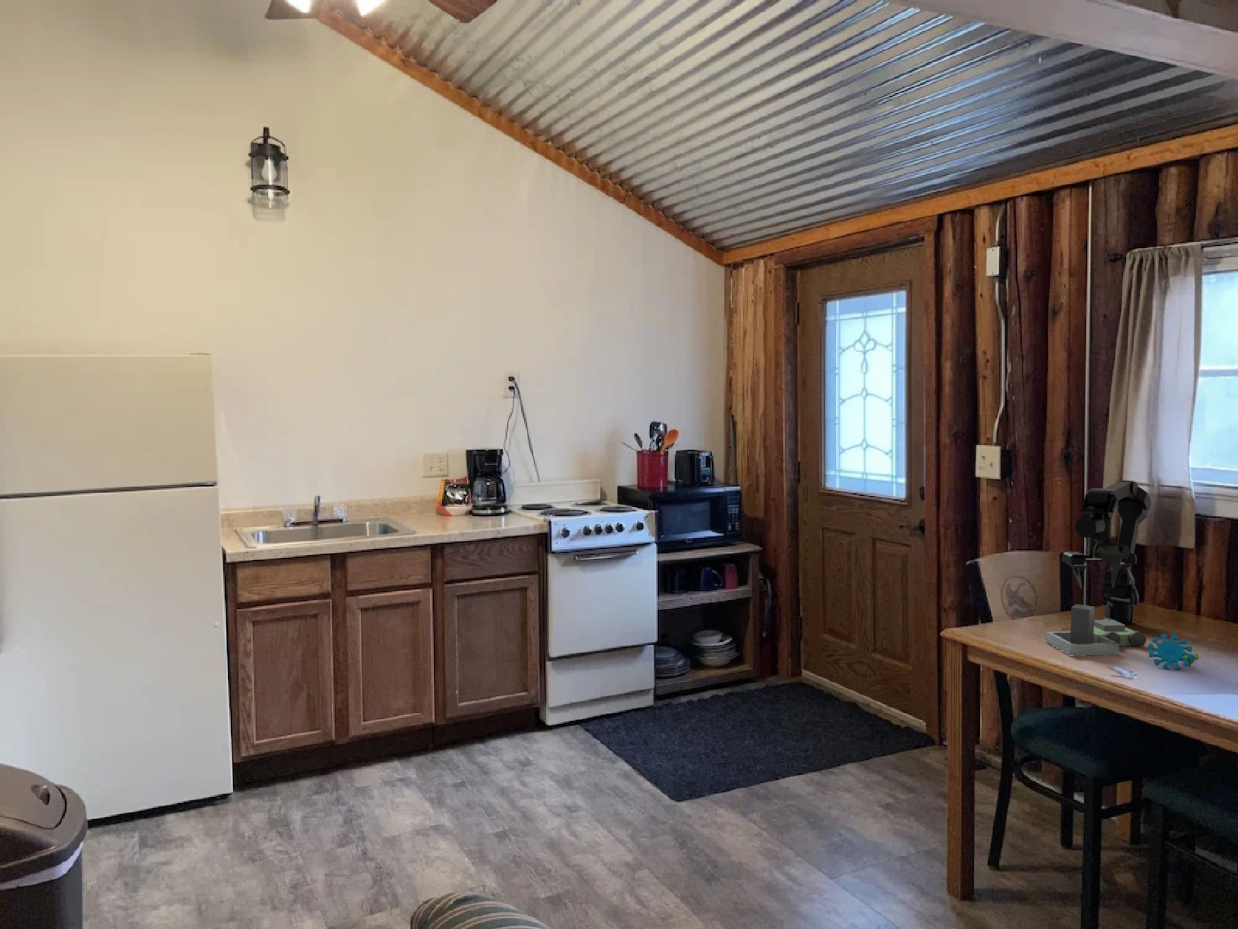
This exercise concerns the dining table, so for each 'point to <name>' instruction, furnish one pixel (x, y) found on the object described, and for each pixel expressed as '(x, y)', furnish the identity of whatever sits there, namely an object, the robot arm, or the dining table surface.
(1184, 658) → the teal spiky round piece
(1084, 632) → the grey block
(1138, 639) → the toy car
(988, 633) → the dining table surface
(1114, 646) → the grey tray
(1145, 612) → the dining table surface
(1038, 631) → the dining table surface
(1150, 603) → the dining table surface
